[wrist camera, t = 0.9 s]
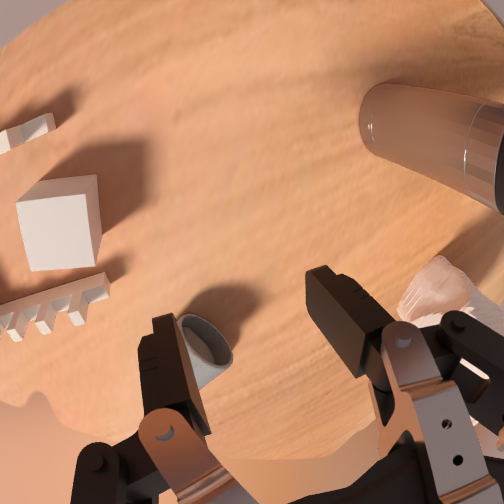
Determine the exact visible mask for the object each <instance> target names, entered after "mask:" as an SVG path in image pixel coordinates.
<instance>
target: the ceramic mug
mask: <svg viewBox="0 0 504 504" xmlns="http://www.w3.org/2000/svg"><path fill="white" fill-rule="evenodd" d="M177 324H178V327H179V329H180V332H181V334H182V337H183V339H184V341H185V344H186V347H187V350H188V353H189V356H190V360H191V363H192V367H193V371H194V375H195V379H196V382H197V386H198V389H199V390H200V389H201V388H203V387H204V386H205V385H206V384H208V383H209V382H210V381H212V380H213V379H214V378H216V377H217V376H218V375H220V374H221V373H222V372H224V371H225V370H226V369H228V368H229V367H230V365H231V364H232V362H233V353H232V349H231V347H230V345H229V343H228V342H227V340H226V338H225V337H224V336H223V335H222V334H221V332H220V331H219V330H218V329H217V328H216V327H215V326H214V325H213V324H211V323H210V322H208V321H207V320H205V319H204V318H202V317H200V316H197V315H195V314H185V315H183V316H182V317H180V318H179V319H178V321H177Z"/></svg>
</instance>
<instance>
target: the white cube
mask: <svg viewBox="0 0 504 504" xmlns="http://www.w3.org/2000/svg"><path fill="white" fill-rule="evenodd" d="M16 207H17V213H18V219H19V224H20V229H21V233H22V238H23V242H24V246H25V251H26V255H27V258H28V262H29V266H30V270H31V271H44V270H56V269H68V268H81V267H93V266H95V265H96V261H97V256H98V252H99V247H100V243H101V239H102V227H101V218H100V208H99V197H98V184H97V174H94V175H84V176H74V177H65V178H57V179H49V180H42V181H38V182H37V183H36V184H34V185H33V186H32V187H31V188H30V189H29V190H28V191H27V192H26V193H25V194H24V195H23V196H22V197H21V198H20V199H19V200H18V201H17V202H16Z"/></svg>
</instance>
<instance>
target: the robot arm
mask: <svg viewBox="0 0 504 504" xmlns="http://www.w3.org/2000/svg"><path fill="white" fill-rule="evenodd" d="M359 127H360V133H361V136H362V139H363V141H364V143H365V145H366V147H367V148H368V149H369V150H370V151H371V152H372V153H373V154H375V155H377V156H379V157H381V158H384V159H386V160H389V161H391V162H394V163H396V164H399V165H401V166H403V167H406V168H408V169H411V170H413V171H415V172H418V173H420V174H422V175H424V176H427V177H429V178H431V179H433V180H436V181H438V182H440V183H442V184H444V185H446V186H448V187H450V188H453V189H455V190H457V191H459V192H461V193H463V194H465V195H467V196H469V197H471V198H472V199H474V200H477V201H479V202H480V203H482V204H484V205H486V206H488V207H490V208H491V209H493V210H495V211H497V212H499V213H501V214H502V215H504V104H502V103H499V102H495V101H490V100H486V99H482V98H478V97H473V96H469V95H464V94H459V93H454V92H449V91H443V90H437V89H431V88H424V87H417V86H410V85H401V84H390V83H383V84H379V85H377V86H375V87H374V88H372V89H371V90H370V91H369V92H368V94H367V95H366V97H365V98H364V100H363V103H362V105H361V109H360V113H359ZM305 284H306V306H307V310H308V313H309V315H310V317H311V318H312V320H313V321H314V322H315V324H316V325H317V326H318V328H319V329H320V330H321V332H322V333H323V335H324V336H325V337H326V339H327V340H328V341H329V343H330V344H331V345H332V347H333V348H334V350H335V351H336V352H337V354H338V355H339V356H340V358H341V359H342V361H343V362H344V363H345V365H346V366H347V367H348V369H349V370H350V371H351V373H352V374H353V376H354V377H355V378H358V377H360V376H362V375H364V374H366V375H367V377H368V378H369V383H368V387H369V391H370V395H371V399H372V403H373V407H374V412H375V416H376V420H377V424H378V429H379V439H378V450H379V456H380V460H379V461H377V462H376V463H375V464H374V465H373V466H372V467H371V468H370V469H369V470H368V471H367V472H366V473H364V474H363V475H362V476H361V477H360V478H359V479H358V480H357V481H355V482H354V483H353V484H352V485H350V486H348V487H346V488H342V489H338V490H334V491H329V492H324V493H320V494H315V495H309V496H306V497H303V498H301V499H298V500H296V501H294V502H291V503H288V504H504V459H500V458H494V457H489V456H484V455H483V453H482V450H481V447H480V444H479V441H478V439H477V435H476V432H475V429H474V427H473V424H472V421H471V418H470V416H471V417H472V418H474V419H475V420H476V421H478V422H479V423H480V424H482V425H483V426H485V427H486V428H487V429H489V430H490V431H491V432H493V433H494V434H496V435H497V436H498V437H499V440H498V441H497V444H496V447H497V449H498V450H499V451H500V452H503V451H504V337H503V336H502V335H500V334H499V333H497V332H496V331H494V330H492V329H491V328H489V327H488V326H486V325H484V324H483V323H481V322H480V321H478V320H476V319H475V318H473V317H471V316H470V315H468V314H466V313H464V312H462V311H458V310H452V311H448V312H446V313H445V314H444V315H443V316H442V318H441V321H440V323H439V324H437V325H432V326H427V327H423V328H418V327H417V326H415V325H414V324H412V323H410V322H406V321H396V320H394V318H393V317H392V316H391V315H390V314H389V313H388V312H387V311H386V310H385V309H384V308H383V307H382V306H381V305H380V304H379V303H378V302H377V301H376V300H375V299H374V298H373V297H372V296H370V295H369V293H368V292H367V291H366V290H364V289H363V288H362V287H361V286H360V285H359V284H358V283H357V282H356V281H355V280H354V279H352V278H350V277H348V276H346V275H344V274H339V275H336V274H335V273H334V272H333V271H332V270H331V269H330V268H329V267H328V266H327V265H323V266H320V267H317V268H314V269H311V270H308V271H306V274H305ZM152 324H153V332H154V334H150V335H147V336H143V337H142V339H141V342H140V344H139V347H138V361H139V372H140V381H141V390H142V399H143V407H144V418H143V419H142V421H141V423H140V425H139V429H138V430H137V432H136V433H135V434H133V435H132V436H131V437H129V438H127V439H125V440H124V441H122V442H120V443H118V444H116V445H114V446H112V447H111V446H110V445H108V444H106V443H102V442H95V443H91V444H89V445H87V446H86V447H84V448H83V449H82V451H81V452H80V454H79V456H78V459H77V464H76V470H75V475H74V482H73V489H72V496H71V503H70V504H158V503H159V494H161V493H163V492H164V491H166V490H168V489H170V488H171V489H172V490H173V492H174V493H175V495H176V496H177V499H178V500H177V502H178V504H259V503H258V502H257V501H256V500H255V499H254V498H253V497H252V496H251V495H250V494H249V493H248V492H247V491H246V490H245V489H244V488H243V487H242V486H241V485H240V484H239V483H238V481H237V480H236V479H235V478H234V477H233V476H232V475H231V474H230V473H229V472H228V471H227V470H226V469H225V468H224V467H223V466H222V465H221V463H220V462H219V461H218V460H217V459H216V457H215V456H214V455H213V454H212V453H211V452H210V450H209V449H208V447H207V443H206V440H205V437H204V436H206V435H210V434H212V433H211V430H210V427H209V424H208V420H207V417H206V414H205V410H204V407H203V404H202V400H201V397H200V393H199V389H198V386H197V382H196V379H195V375H194V371H193V367H192V363H191V360H190V356H189V353H188V350H187V347H186V344H185V341H184V339H183V337H182V334H181V332H180V329H179V327H178V324H177V322H176V319H175V317H174V314H173V313H169V314H165V315H162V316H158V317H155V318H152ZM462 358H463V359H464V360H466V361H467V362H469V363H470V364H472V365H473V366H475V367H476V368H478V369H479V370H481V371H482V372H484V373H485V374H486V375H487V376H488V377H489V379H484V378H482V377H480V376H479V375H477V374H476V373H474V372H473V371H471V370H470V369H468V368H467V367H466V366H464V365H463V364H461V363H460V361H461V359H462Z"/></svg>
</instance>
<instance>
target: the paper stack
mask: <svg viewBox="0 0 504 504" xmlns="http://www.w3.org/2000/svg"><path fill="white" fill-rule="evenodd" d="M452 310H458V311H462V312H464V313H466V314H468V315H470V316H471V317H473V318H475V319H476V320H478V321H480V322H481V323H483V324H484V325H486V326H488V327H489V328H491V329H492V330H494V331H496V332H497V333H499V334H500V335H502V336H503V337H504V311H503V310H502V309H501V308H500V307H499V306H498V305H496V304H495V303H494V302H492V301H491V300H489V299H488V298H486V297H485V296H484V295H483V294H482V293H481V292H480V291H479V290H478V289H477V287H476V286H475V285H474V284H473V283H472V282H471V280H470V279H469V278H468V277H467V275H466V274H465V272H463V271H461V270H460V269H459V268H456V267H454V266H452V265H451V264H450V262H449V261H448V260H447V259H446V258H445V257H444V256H441V255H437V256H435V257H433V258H432V259H431V260H430V261H429V262H428V263H427V264H426V265H425V266H424V267H423V268H422V269H421V270H420V271H419V273H418V274H417V275H416V276H415V278H414V279H413V281H412V282H411V284H410V285H409V287H408V288H407V290H406V291H405V293H404V294H403V296H402V298H401V300H400V305H399V306H398V308H397V313H398V314H399V316H400V318H401V319H402V321H406V322H410V323H412V324H414V325H415V326H417V327H418V328H423V327H427V326H432V325H437V324H439V323H440V321H441V318H442V316H443V315H444V314H445V313H446V312H448V311H452ZM460 363H461V364H463V365H464V366H466V367H467V368H468V369H470V370H471V371H473V372H474V373H476V374H477V375H479V376H480V377H482V378H484V379H489V377H488V376H487V375H486V374H485V373H484V372H482V371H481V370H479V369H478V368H476V367H475V366H473V365H472V364H470V363H469V362H467V361H466V360H464V359H463V358H462V359H461V361H460ZM470 418H471V421H472V424H473V426H474V425H476V424H477V423H478V421H476V420H475V419H474V418H472V417H471V416H470Z"/></svg>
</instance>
